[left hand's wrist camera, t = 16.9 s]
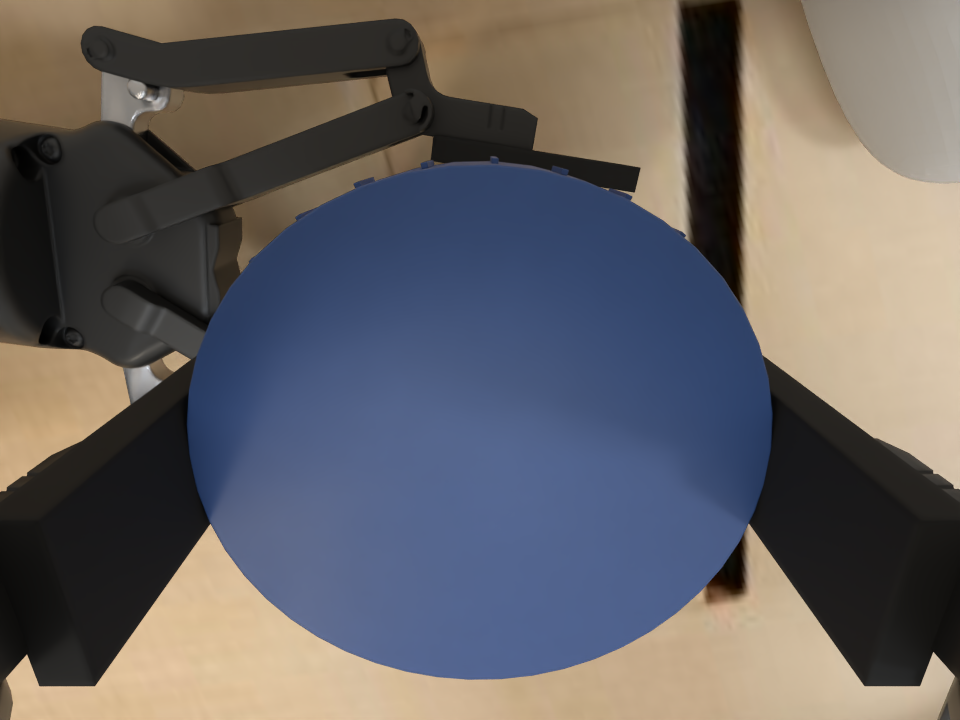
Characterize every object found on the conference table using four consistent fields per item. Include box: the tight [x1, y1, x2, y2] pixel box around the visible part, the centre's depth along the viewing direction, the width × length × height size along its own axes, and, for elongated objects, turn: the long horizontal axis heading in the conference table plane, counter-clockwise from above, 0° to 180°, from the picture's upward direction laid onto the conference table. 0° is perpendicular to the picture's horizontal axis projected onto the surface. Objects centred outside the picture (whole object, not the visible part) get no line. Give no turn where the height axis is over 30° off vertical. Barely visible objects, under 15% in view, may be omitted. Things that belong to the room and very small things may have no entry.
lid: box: [187, 156, 773, 680], centre depth 11 cm, size 11×11×2 cm
